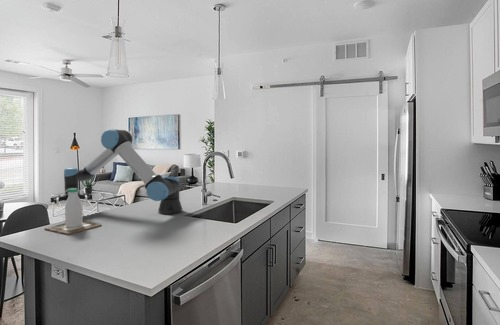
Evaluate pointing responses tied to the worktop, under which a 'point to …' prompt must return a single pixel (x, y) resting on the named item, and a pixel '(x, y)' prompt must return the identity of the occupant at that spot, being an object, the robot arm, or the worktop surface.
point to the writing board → (69, 231)
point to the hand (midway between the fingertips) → (72, 200)
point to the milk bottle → (73, 209)
